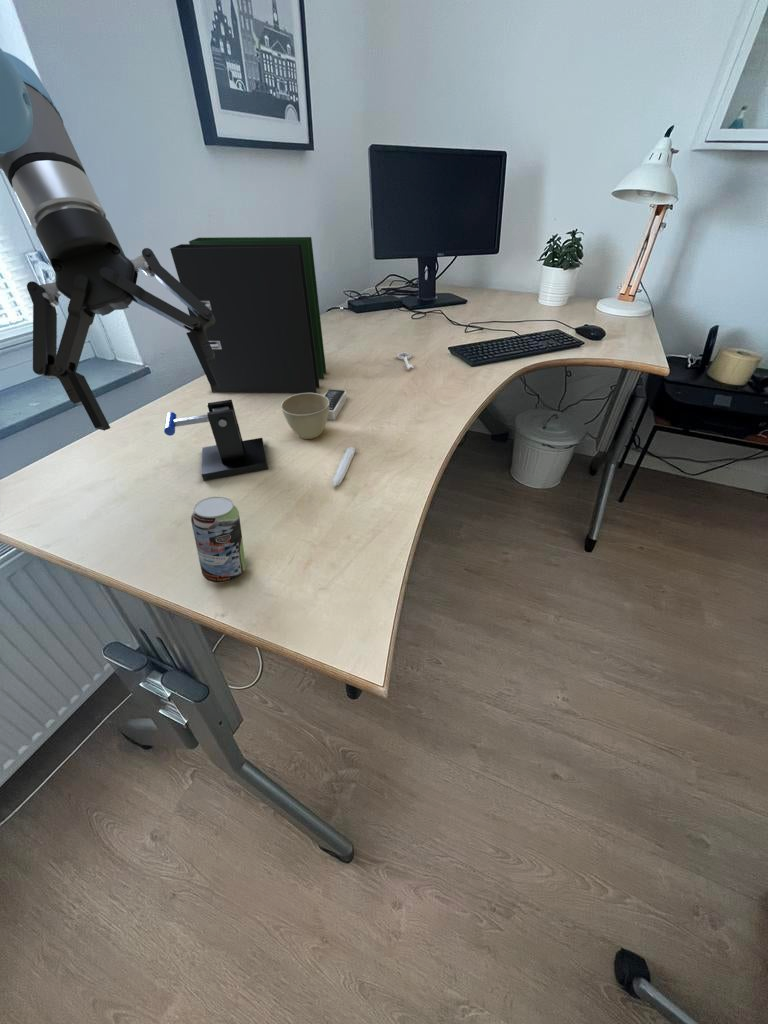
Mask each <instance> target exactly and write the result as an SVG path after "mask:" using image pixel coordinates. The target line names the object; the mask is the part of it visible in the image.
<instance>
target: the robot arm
mask: <svg viewBox="0 0 768 1024" xmlns="http://www.w3.org/2000/svg"><path fill="white" fill-rule="evenodd" d="M0 171H2V172H3V173H4V176H5V177H6V179H7V180H8V183H9V184H10V186H11V188H12V190H13V192H14V194H15V195H16V198H17V200H18V202H19V204H20V206H21V208H22V210H23V212H24V214H25V216H26V218H27V221H28V222H29V225H30V226H31V228H32V229H33V230H34V231H35V236H36V238H37V240H38V243H39V244H40V246H41V248H42V250H43V252H44V254H45V256H46V259H47V260H48V262H49V264H50V266H51V268H52V270H53V272H54V276H55V282H54V281H53V282H50V283H43V284H39V283H38V282H36V281H34V280H33V281H29V282H27V284H26V289H27V291H28V295H29V297H30V299H31V302H32V371H33V372H34V374H36V375H38V376H41V377H42V378H45V379H48V380H54V379H58V380H59V382H60V383H61V386H62V387H63V389H64V391H65V393H66V395H67V397H68V399H69V401H70V402H71V403H72V404H73V405H77V406H79V407H80V406H83V408H84V410H85V412H86V414H87V415H88V418H89V420H90V421H91V423H92V425H93V427H94V429H97V430H100V431H107V430H110V429H111V426H110V423H109V422H108V420H107V418H106V416H105V414H104V412H103V410H102V408H101V407H100V404H99V402H98V400H97V399H96V396H95V395H94V392H93V391H92V389H91V387H90V384H89V383H88V380H87V379H86V377H85V375H83V374H81V373H79V372H77V370H78V368H79V367H78V366H79V363H80V359H81V356H82V353H83V350H84V348H85V347H84V346H85V343H86V340H87V336H88V333H89V329H90V326H92V325H93V323H94V320H95V317H96V315H101V316H102V317H103V316H107V315H110V314H111V313H112V312H114V311H118V310H119V311H122V310H127V309H129V306H130V305H131V304H132V302H134V303H136V304H138V305H139V306H141V307H143V308H146V309H148V310H150V311H151V312H154V313H156V314H157V315H159V316H161V317H162V318H165V319H166V320H169V321H170V322H172V323H174V324H175V325H178V326H179V327H181V328H183V329H184V330H186V331H188V332H186V336H187V338H188V340H189V342H190V344H191V346H192V349H193V350H194V353H195V355H196V357H197V360H198V361H199V364H200V366H201V368H202V370H203V373H204V375H205V377H206V379H207V381H208V383H209V386H210V385H211V386H210V388H211V387H212V388H213V390H217V389H220V387H219V385H218V383H217V381H216V379H215V376H214V374H213V372H212V370H211V368H210V366H209V363H208V361H209V360H212V359H215V354H214V352H213V350H212V347H211V345H210V343H209V341H208V338H207V336H206V330H207V328H208V327H210V326H212V325H214V324H215V318H214V316H213V313H212V311H211V310H210V309H209V308H208V307H207V306H205V305H204V304H203V303H202V302H201V301H200V300H199V299H198V298H197V297H195V296H194V295H193V294H192V293H191V292H190V291H189V290H188V289H187V288H185V287H184V286H183V285H182V284H181V283H180V281H179V279H177V278H175V277H174V276H173V275H172V274H171V273H170V272H169V271H168V270H167V269H165V268H164V267H163V266H162V265H161V263H160V261H159V260H158V258H157V256H156V254H155V253H154V251H153V250H152V249H151V248H149V247H145V248H142V250H141V255H139V256H136V257H135V258H132V259H130V258H128V257H127V256H126V254H125V252H124V250H123V248H122V246H121V244H120V242H119V240H118V237H117V235H116V233H115V231H114V228H113V227H112V224H111V223H110V221H109V220H108V219H107V213H106V212H105V210H104V208H103V205H102V203H101V201H100V200H99V197H98V195H97V193H96V191H95V189H94V187H93V184H92V183H91V180H90V178H89V176H88V175H87V173H86V170H85V168H84V166H83V163H82V162H81V159H80V157H79V155H78V153H77V150H76V148H75V146H74V144H73V141H72V140H71V138H70V135H69V133H68V131H67V129H66V126H65V125H64V120H63V118H62V116H61V114H60V111H59V110H58V108H57V106H56V105H55V104H54V102H53V100H52V98H51V95H50V94H49V92H48V90H47V89H46V87H45V86H44V83H43V82H42V80H41V78H40V77H39V76H38V75H37V74H36V72H35V71H34V70H33V69H32V67H30V66H29V65H28V64H27V63H26V62H24V60H22V59H20V58H18V57H17V56H15V55H13V54H11V53H10V52H7V51H5V50H3V49H2V48H1V47H0ZM140 272H141V273H144V274H145V275H146V276H148V277H149V278H154V277H155V278H156V280H157V281H158V282H159V283H160V284H161V285H162V286H163V287H164V288H165V289H167V291H169V292H170V293H171V294H172V295H173V296H174V297H176V299H178V300H179V301H180V302H181V303H182V304H183V305H184V306H186V308H187V307H188V308H189V309H190V310H192V311H193V312H194V313H195V314H196V315H197V316H198V317H197V318H193V317H192V316H190V315H189V313H187V312H184V311H183V310H181V309H179V308H177V307H176V306H174V305H172V304H171V303H169V302H167V301H165V300H163V299H161V298H159V297H157V296H156V295H155V294H152V293H151V292H149V291H147V290H146V289H144V288H143V287H142V286H140V285H138V284H137V282H138V278H139V277H138V276H139V273H140ZM61 296H65V297H66V298H67V299H69V303H68V304H67V305H68V306H67V313H68V314H67V318H66V321H65V324H64V328H63V332H62V335H61V339H60V342H59V345H58V348H57V343H58V342H57V339H58V335H57V334H58V328H57V327H58V315H57V314H58V313H57V308H56V307H58V306H59V298H60V297H61ZM188 308H187V309H188Z"/></svg>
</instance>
